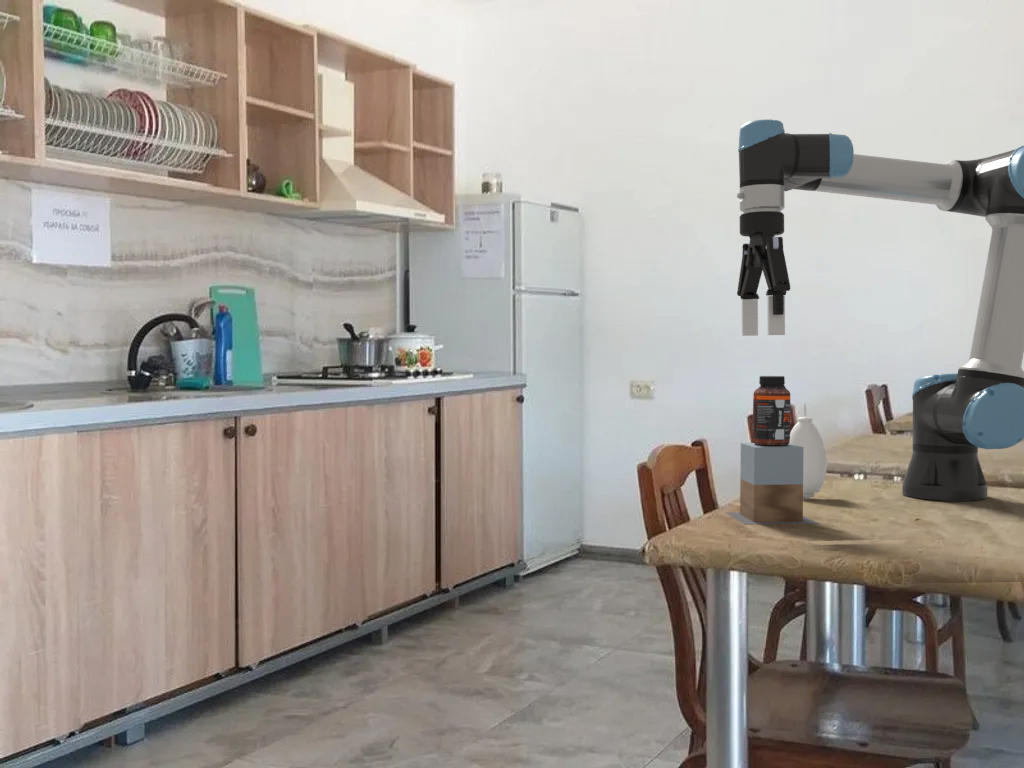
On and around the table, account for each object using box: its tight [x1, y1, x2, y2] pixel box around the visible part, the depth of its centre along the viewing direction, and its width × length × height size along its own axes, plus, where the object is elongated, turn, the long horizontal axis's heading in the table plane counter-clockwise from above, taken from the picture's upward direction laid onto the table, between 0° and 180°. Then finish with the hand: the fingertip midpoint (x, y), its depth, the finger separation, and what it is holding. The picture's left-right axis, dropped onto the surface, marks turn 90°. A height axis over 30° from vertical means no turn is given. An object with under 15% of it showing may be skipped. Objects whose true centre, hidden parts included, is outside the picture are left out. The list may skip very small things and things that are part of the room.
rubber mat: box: [725, 511, 820, 526], centre depth 178 cm, size 12×12×1 cm
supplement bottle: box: [752, 375, 791, 446], centre depth 178 cm, size 6×6×11 cm
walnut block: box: [739, 479, 804, 522], centre depth 178 cm, size 8×8×6 cm
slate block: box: [739, 442, 803, 485], centre depth 178 cm, size 8×8×6 cm
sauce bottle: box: [790, 403, 828, 501], centre depth 204 cm, size 8×8×18 cm
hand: (762, 335), depth 188 cm, fingers open, 13 cm apart
